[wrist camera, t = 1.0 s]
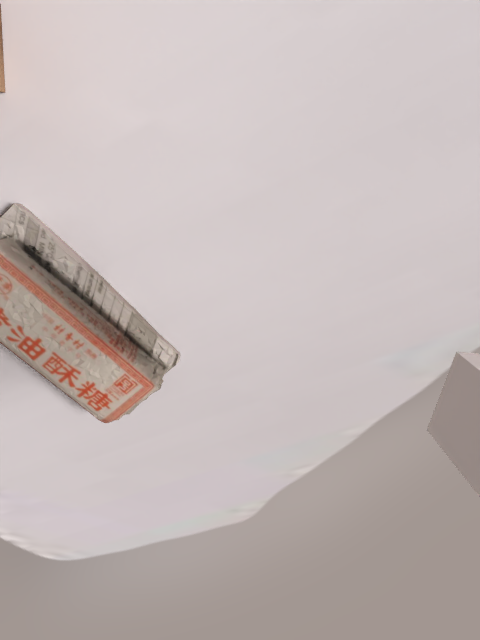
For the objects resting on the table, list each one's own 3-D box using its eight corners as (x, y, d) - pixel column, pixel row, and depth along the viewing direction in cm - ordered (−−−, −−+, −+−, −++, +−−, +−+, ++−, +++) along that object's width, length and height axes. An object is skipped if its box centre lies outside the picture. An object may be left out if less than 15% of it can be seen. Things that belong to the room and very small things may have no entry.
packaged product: (182, 379, 32) (98, 447, 34) (185, 351, 36) (111, 412, 38) (-10, 206, 25) (-99, 302, 27) (22, 198, 30) (-56, 281, 32)
